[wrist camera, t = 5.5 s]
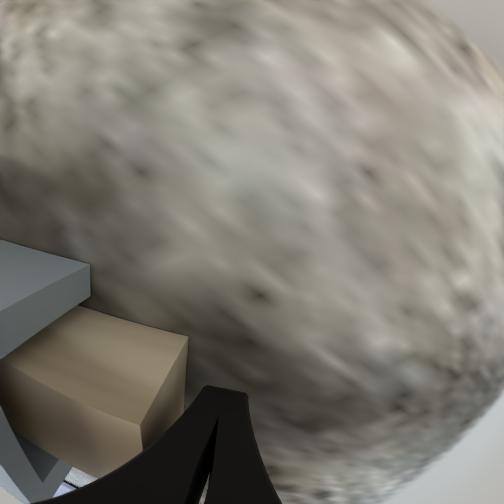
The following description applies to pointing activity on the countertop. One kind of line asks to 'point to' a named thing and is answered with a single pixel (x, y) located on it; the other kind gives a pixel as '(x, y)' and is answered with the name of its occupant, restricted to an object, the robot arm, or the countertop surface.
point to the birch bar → (94, 388)
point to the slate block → (17, 332)
